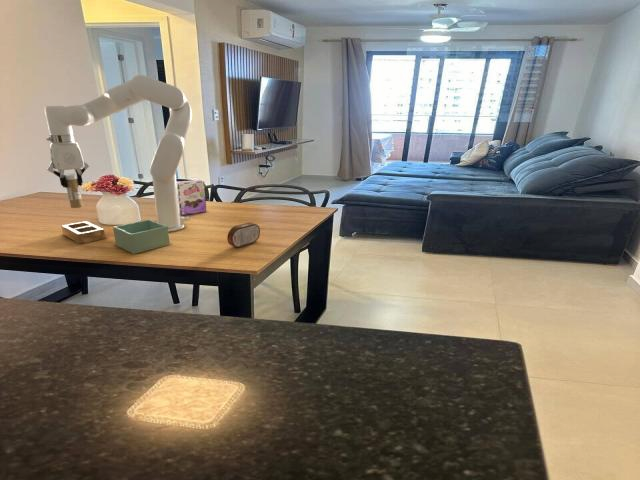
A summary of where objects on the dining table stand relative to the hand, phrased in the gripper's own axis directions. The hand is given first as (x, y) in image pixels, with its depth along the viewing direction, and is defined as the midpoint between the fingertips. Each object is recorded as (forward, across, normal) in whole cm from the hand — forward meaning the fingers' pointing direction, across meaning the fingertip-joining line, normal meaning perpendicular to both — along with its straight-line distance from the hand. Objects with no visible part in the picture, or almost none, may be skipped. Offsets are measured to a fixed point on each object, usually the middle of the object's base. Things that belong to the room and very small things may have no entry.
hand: (72, 185), depth 153 cm
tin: (+22, +37, -60) cm, 74 cm away
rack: (+21, -1, -4) cm, 21 cm away
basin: (+21, +10, -30) cm, 38 cm away
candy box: (+22, +51, -2) cm, 56 cm away
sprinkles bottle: (+9, 0, 0) cm, 9 cm away
